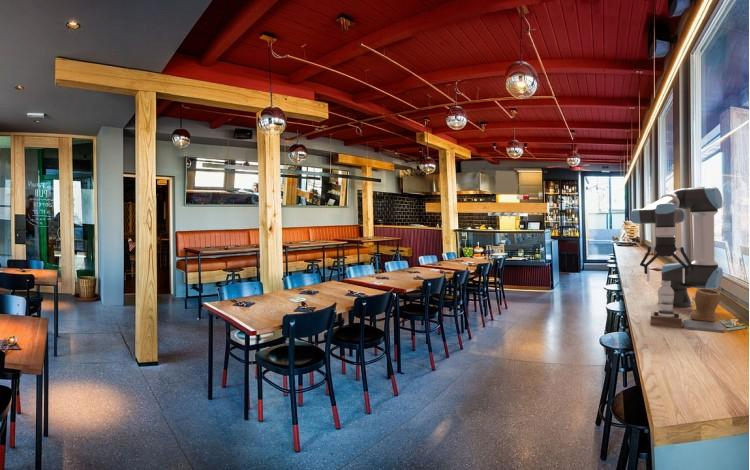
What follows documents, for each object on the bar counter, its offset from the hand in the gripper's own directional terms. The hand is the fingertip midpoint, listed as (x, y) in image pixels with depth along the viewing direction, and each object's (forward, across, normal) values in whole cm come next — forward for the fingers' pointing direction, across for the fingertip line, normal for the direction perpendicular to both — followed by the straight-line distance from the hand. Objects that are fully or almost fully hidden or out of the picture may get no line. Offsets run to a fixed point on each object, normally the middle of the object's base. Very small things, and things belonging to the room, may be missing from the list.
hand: (665, 281), depth 196 cm
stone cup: (+20, +15, +16) cm, 30 cm away
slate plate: (+20, +14, 0) cm, 24 cm away
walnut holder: (+20, 0, 0) cm, 20 cm away
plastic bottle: (+20, 0, 0) cm, 20 cm away
